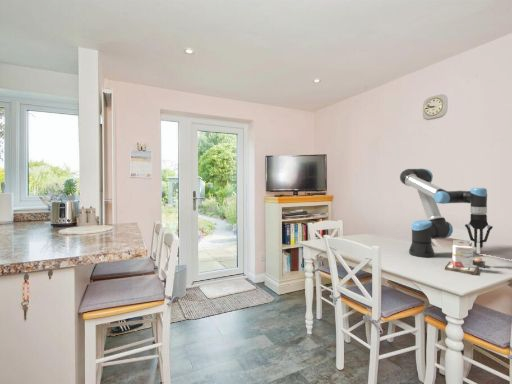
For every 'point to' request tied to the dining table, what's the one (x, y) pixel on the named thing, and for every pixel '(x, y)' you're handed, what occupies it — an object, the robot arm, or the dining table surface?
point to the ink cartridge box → (462, 254)
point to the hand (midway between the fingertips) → (478, 252)
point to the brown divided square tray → (462, 269)
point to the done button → (478, 260)
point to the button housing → (479, 264)
